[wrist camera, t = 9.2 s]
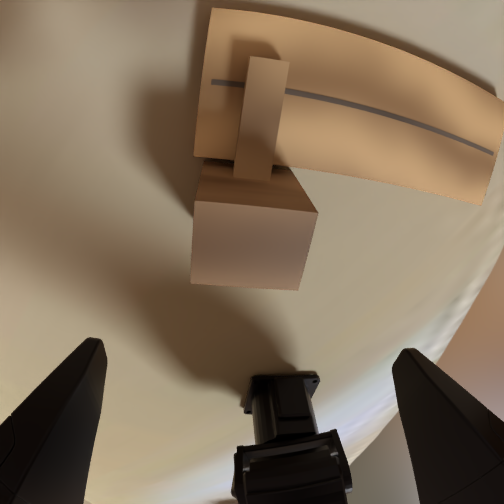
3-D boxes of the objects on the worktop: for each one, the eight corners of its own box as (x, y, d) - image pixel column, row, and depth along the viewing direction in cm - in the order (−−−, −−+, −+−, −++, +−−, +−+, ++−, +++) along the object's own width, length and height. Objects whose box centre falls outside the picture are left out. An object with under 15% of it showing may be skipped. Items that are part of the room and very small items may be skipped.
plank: (471, 199, 20) (481, 206, 19) (195, 151, 17) (193, 156, 16) (498, 101, 16) (509, 105, 15) (212, 12, 13) (211, 7, 12)
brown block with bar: (279, 231, 20) (298, 290, 15) (198, 224, 19) (190, 283, 14) (309, 69, 15) (349, 69, 10) (216, 55, 14) (211, 44, 9)
